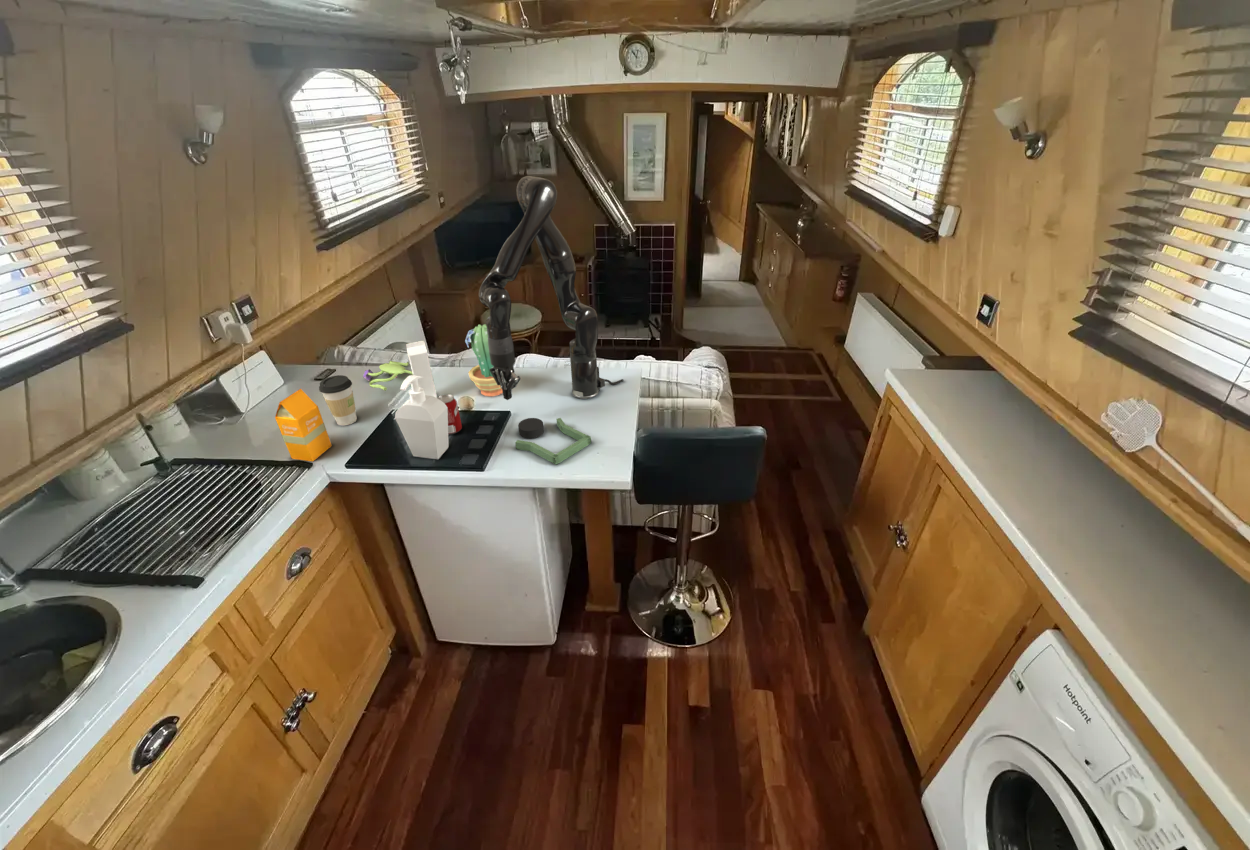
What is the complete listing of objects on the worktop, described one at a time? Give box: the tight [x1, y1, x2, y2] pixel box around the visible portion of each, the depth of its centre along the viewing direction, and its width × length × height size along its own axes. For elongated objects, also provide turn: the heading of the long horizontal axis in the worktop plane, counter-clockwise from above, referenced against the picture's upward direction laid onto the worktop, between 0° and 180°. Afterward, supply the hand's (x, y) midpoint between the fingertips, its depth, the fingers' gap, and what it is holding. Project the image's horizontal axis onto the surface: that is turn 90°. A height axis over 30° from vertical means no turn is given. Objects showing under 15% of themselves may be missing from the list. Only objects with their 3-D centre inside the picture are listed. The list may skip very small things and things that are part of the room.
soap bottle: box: [394, 374, 449, 460], centre depth 163 cm, size 12×10×26 cm
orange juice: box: [274, 388, 332, 462], centre depth 166 cm, size 8×9×20 cm
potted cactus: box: [464, 323, 503, 397], centre depth 197 cm, size 15×15×25 cm
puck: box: [517, 417, 545, 440], centre depth 178 cm, size 8×8×3 cm
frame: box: [515, 417, 592, 466], centre depth 172 cm, size 19×16×2 cm
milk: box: [405, 340, 438, 398], centre depth 193 cm, size 6×6×22 cm
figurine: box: [362, 360, 413, 392], centre depth 210 cm, size 18×27×6 cm
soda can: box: [437, 393, 463, 436], centre depth 177 cm, size 7×7×12 cm
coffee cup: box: [318, 374, 358, 426], centre depth 183 cm, size 10×10×15 cm
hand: (507, 398), depth 180 cm, fingers closed
